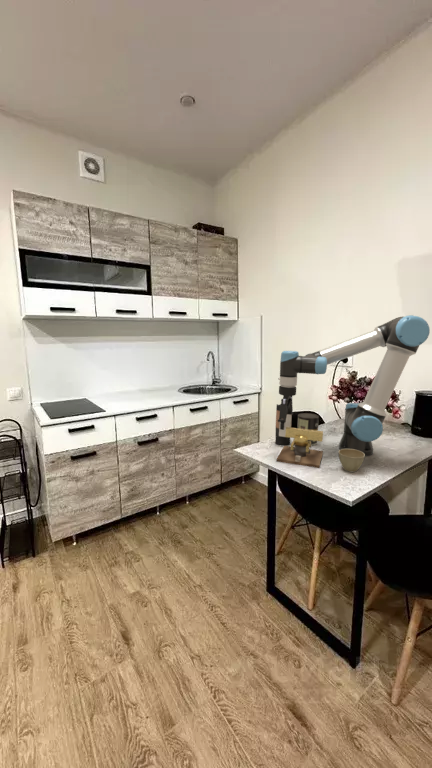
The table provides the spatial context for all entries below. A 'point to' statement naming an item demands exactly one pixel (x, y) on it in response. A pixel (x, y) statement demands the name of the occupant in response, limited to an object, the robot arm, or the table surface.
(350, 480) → the table surface
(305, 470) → the table surface
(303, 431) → the coupling
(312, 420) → the coffee can
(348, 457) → the flower pot
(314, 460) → the base
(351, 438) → the robot arm
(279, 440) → the travel mug
